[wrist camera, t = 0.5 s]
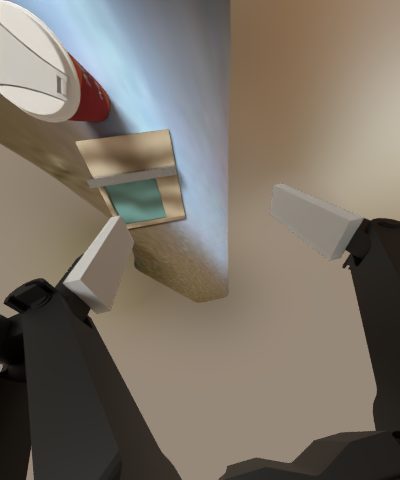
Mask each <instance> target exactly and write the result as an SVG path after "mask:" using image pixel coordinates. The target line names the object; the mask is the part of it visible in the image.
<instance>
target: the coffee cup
mask: <svg viewBox="0 0 400 480" xmlns="http://www.w3.org/2000/svg"><path fill="white" fill-rule="evenodd" d="M0 93H1V94H2V95H3V96H4V97H5V98H7V99H8V100H9V101H11V102H12V103H13V104H15V105H16V106H17V107H18V108H20V109H21V110H23V111H24V112H26V113H27V114H29V115H31V116H33V117H35V118H37V119H40V120H43V121H47V122H63V121H66V120H73V121H87V122H101V121H103V120H105V119H106V118H107V117H108V115H109V112H110V103H109V99H108V96H107V94H106V92H105V91H104V89H103V88H102V86H101V85H100V84H99V83H98V82H97V81H96V80H95V79H94V78H93V77H92V76H91V75H90V74H89V73H88V72H87V71H86V70H85V69H84V68H83V67H82V66H81V65H80V64H79V63H78V62H77V61H76V60H75V59H74V58H73V57H72V56H71V55H70V54H69V53H68V52H67V51H66V49H65V48H64V46H63V45H62V43H61V42H60V41H59V39H58V38H57V37H56V35H55V34H54V33H53V32H52V31H51V30H50V29H49V28H48V26H47V25H46V24H44V23H43V22H42V21H41V20H40V19H39V18H38V17H36V16H35V15H34V14H32V13H31V12H29V11H28V10H26V9H25V8H23V7H21V6H19V5H17V4H14V3H12V2H9V1H4V0H0Z"/></svg>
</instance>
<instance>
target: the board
mask: <svg viewBox="0 0 400 480" xmlns="http://www.w3.org/2000/svg"><path fill="white" fill-rule="evenodd" d="M76 144H77V146H78V148H79V150H80V152H81V154H82V156H83V158H84V160H85V162H86V164H87V166H88V168H89V170H90V172H91V174H92V176H93V177H96V176H103V175H109V174H116V173H122V172H129V171H136V170H142V169H149V168H155V167H162V166H168V165H175V161H174V156H173V150H172V145H171V140H170V135H169V130H168V129H165V130H158V131H151V132H143V133H136V134H128V135H121V136H114V137H106V138H99V139H92V140H84V141H77V142H76ZM156 181H157V182H156ZM157 185H158V186H157ZM105 187H106V189H107V191H108V193H107V191H106V189H105ZM105 187H104V186H101V187H98V188H99V190H100V192H101V194H102V196H103V198H104V200H105V202H106V204H107V206H108V208H109V210H110V212H111V214H112V216H113V217H115V216H118V215H119V216H120V215H121V217H122V219H123V221H124V223H125V225H126V227H127V229H129V228H135V227H141V226H146V225H152V224H157V223H163V222H169V221H174V220H180V219H185V213H184V208H183V203H182V198H181V192H180V187H179V182H178V177H177V175H171V176H165V177H158V178H156V179H155V178H152V179H146V180H139V181H133V182H127V183H120V184H114V185H108V186H105ZM158 188H159V190H158ZM159 192H160V193H159ZM108 194H109V195H108ZM109 196H110V197H109ZM160 196H161V197H160ZM110 198H111V199H110ZM161 199H162V201H161ZM111 200H112V201H111ZM112 202H113V203H112ZM162 203H163V204H162ZM113 204H114V206H115V208H116V210H117V212H118V214H117V212H116V210H115V208H114V206H113ZM163 206H164V208H163ZM164 210H165V211H164ZM165 214H166V215H165ZM162 217H165V218H162ZM156 218H159V219H156ZM151 219H154V220H151ZM145 220H148V221H145ZM139 221H142V222H139ZM134 222H137V223H134ZM128 223H131V224H128Z"/></svg>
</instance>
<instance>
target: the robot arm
mask: <svg viewBox="0 0 400 480" xmlns="http://www.w3.org/2000/svg"><path fill="white" fill-rule="evenodd" d="M269 214H270V215H271V216H273V217H274V218H275V219H276V220H278V221H279V222H280V223H282V224H283V225H284V226H286V227H287V228H288V229H289V230H290V231H292V232H293V233H294V234H296V235H297V236H298V237H300V238H301V239H302V240H303V241H305V242H306V243H307V244H308V245H310V246H311V247H312V248H314V249H315V250H316V251H317V252H319V253H320V254H321V255H322V256H324V257H325V258H326V259H328V260H333V259H338V258H341V256H342V255H343V253H344V251H345V250H347V251H348V252H350V255H349V257H348V258H347V260H346V262H345V263H344V264H343V268H345V267H346V266H347V265H350V267H349V269H350V270H351V274H352V278H353V283H354V287H355V292H356V296H357V300H358V305H359V310H360V314H361V318H362V323H363V327H364V332H365V336H366V341H367V345H368V349H369V354H370V358H371V363H372V367H373V372H374V376H375V381H376V385H377V395H376V398H375V400H374V403H373V416H374V423H375V428H376V431H365V432H344V433H338V434H335V435H331V436H328V437H325V438H321V439H318V440H314V441H313V442H312V443H311V444H310V445H309V446H308V447H307V448H306V449H305V450H304V451H303V452H302V453H301V454H300V455H299V456H298V457H297V458H296V459H295V460H294V461H293V462H292V463H284V462H278V461H272V460H266V459H261V458H253V459H250V460H246V461H243V462H240V463H236V464H233V465H229V466H227V470H226V473H225V474H224V475H223V476H222V477H220V478H219V480H400V221H396V220H392V219H386V218H377V219H373V220H371V221H370V220H367V219H365V218H364V217H361V216H359V215H356V214H354V213H352V212H350V211H347V210H345V209H342V208H340V207H337V206H335V205H333V204H330V203H328V202H326V201H323V200H321V199H318V198H316V197H314V196H311V195H309V194H306V193H304V192H302V191H299V190H297V189H295V188H292V187H290V186H287V185H285V184H277V185H274V187H273V194H272V200H271V206H270V213H269ZM133 244H134V241H133V239H132V237H131V235H130V233H129V231H128V229H127V227H126V225H125V223H124V221H123V219H122V217H121V215H120V216H115V217H111V218H110V220H109V221H108V222H107V224H106V225H105V226H104V228H103V229H102V231H101V232H100V233H99V234H98V236H97V237H96V239H95V240H94V241H93V243H92V244H91V245H90V247H89V248H88V249H87V251H86V252H85V253H84V254H82V255H81V256H80V257H79V258H77V259H76V261H75V262H74V263H73V265H72V267H70V268H69V270H68V272H66V274H65V275H64V276H63V278H62V279H61V280H60V281H59V283H58V284H57V285H56V287H55V288H54V287H53V286H52V285H50V284H49V283H48V282H47V281H46V280H44V279H42V278H41V279H40V278H38V279H35V280H32V281H30V282H27V283H25V284H23V285H22V286H20V287H18V288H17V289H15V290H14V291H13V292H12V293H10V294H9V296H8V297H7V298H6V299H5V301H4V304H5V305H7V306H9V307H10V308H12V309H14V310H16V311H17V312H19V314H17V315H14V316H12V317H10V318H6V317H4V316H2V315H0V364H3V368H2V370H1V372H0V480H26V476H27V470H28V463H29V457H30V451H31V445H32V459H33V472H34V480H182V479H181V478H180V476H179V474H178V473H177V471H176V469H175V467H174V466H173V465H172V463H171V462H170V461H169V460H168V459H167V458H166V457H165V456H164V454H163V453H162V452H161V450H160V448H159V447H158V445H157V443H156V441H155V439H154V437H153V435H152V433H151V432H150V430H149V428H148V426H147V424H146V422H145V421H144V418H143V416H142V414H141V413H140V411H139V409H138V407H137V405H136V403H135V401H134V399H133V397H132V396H131V393H130V392H129V390H128V388H127V386H126V384H125V382H124V380H123V378H122V376H121V374H120V372H119V371H118V369H117V367H116V365H115V363H114V361H113V359H112V357H111V355H110V354H109V352H108V350H107V348H106V346H105V344H104V342H103V340H102V338H101V337H100V334H99V332H98V331H97V329H96V327H95V325H94V323H93V321H92V319H91V318H90V317H89V316H88V313H89V311H90V308H91V309H92V310H93V311H94V312H95V313H96V314H99V313H103V312H107V311H110V310H111V308H112V305H113V302H114V299H115V296H116V293H117V291H118V288H119V285H120V282H121V279H122V276H123V273H124V270H125V267H126V264H127V262H128V259H129V256H130V253H131V250H132V247H133Z"/></svg>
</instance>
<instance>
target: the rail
mask: <svg viewBox="0 0 400 480" xmlns="http://www.w3.org/2000/svg"><path fill="white" fill-rule="evenodd" d="M171 175H177V171H176V166H175V165H168V166H162V167H155V168H149V169H142V170H136V171H129V172H122V173H116V174H109V175H103V176H96V177H92V178H90V179H88V180H87V182H88V184H89V186H90V188H95V187H101V186H108V185H114V184H120V183H127V182H133V181H139V180H146V179H152V178H158V177H165V176H171Z"/></svg>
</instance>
